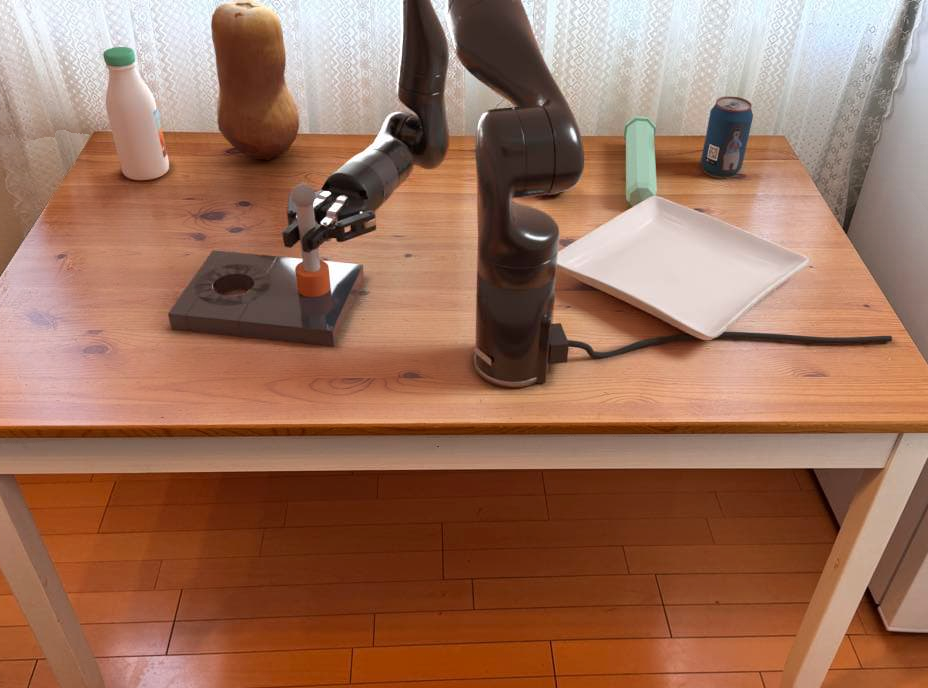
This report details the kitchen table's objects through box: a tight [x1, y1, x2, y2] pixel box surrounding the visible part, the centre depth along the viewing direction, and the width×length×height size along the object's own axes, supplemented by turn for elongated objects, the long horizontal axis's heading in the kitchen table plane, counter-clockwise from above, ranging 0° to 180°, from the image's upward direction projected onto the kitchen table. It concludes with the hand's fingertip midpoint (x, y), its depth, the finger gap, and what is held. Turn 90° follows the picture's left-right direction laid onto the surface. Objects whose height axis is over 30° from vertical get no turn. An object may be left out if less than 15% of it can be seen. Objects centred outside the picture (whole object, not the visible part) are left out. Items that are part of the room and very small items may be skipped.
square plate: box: [556, 195, 812, 341], centre depth 129 cm, size 27×27×4 cm
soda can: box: [700, 96, 754, 179], centre depth 153 cm, size 7×7×12 cm
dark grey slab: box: [167, 249, 365, 347], centre depth 123 cm, size 22×16×2 cm
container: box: [622, 115, 658, 208], centre depth 153 cm, size 6×6×25 cm
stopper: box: [290, 182, 331, 297], centre depth 118 cm, size 4×4×15 cm
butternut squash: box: [210, 0, 300, 161], centre depth 151 cm, size 14×13×25 cm
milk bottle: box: [102, 46, 170, 181], centre depth 147 cm, size 8×8×20 cm
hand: (295, 243), depth 115 cm, fingers closed on stopper, 2 cm apart
